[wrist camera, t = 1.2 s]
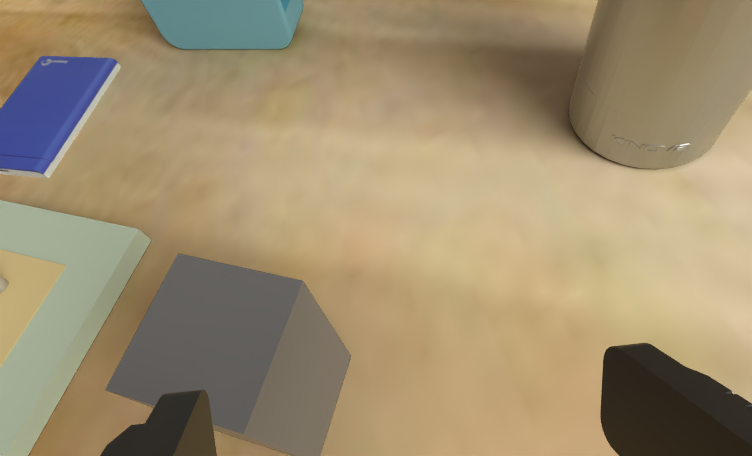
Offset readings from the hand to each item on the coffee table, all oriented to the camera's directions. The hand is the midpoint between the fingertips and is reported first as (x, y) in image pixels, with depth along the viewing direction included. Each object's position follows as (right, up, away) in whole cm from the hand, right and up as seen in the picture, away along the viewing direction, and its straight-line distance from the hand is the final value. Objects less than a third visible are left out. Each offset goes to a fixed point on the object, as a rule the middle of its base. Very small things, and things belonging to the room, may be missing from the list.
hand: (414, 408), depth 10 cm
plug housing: (-6, -5, +17) cm, 18 cm away
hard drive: (-29, +13, +32) cm, 45 cm away
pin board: (-25, -2, +22) cm, 33 cm away
